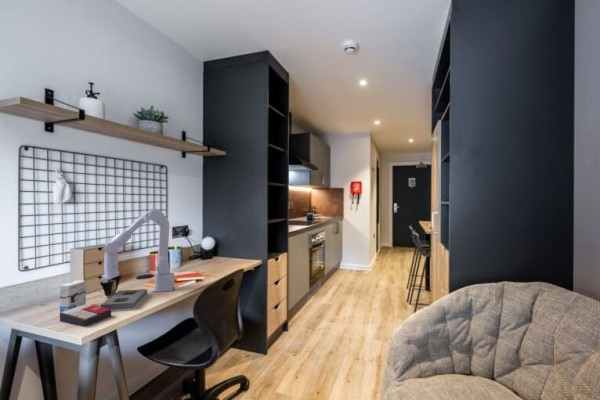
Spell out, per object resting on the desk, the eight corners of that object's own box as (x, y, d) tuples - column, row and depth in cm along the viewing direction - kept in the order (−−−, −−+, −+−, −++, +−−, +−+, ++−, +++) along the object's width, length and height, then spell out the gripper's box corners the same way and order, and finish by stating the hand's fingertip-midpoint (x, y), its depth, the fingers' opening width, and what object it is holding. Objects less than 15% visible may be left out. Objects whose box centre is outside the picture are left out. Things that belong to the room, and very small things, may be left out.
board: (147, 295, 152) (147, 289, 151) (133, 309, 132) (133, 302, 132) (119, 296, 149) (118, 290, 149) (100, 311, 129) (100, 304, 129)
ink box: (68, 313, 128) (68, 285, 128) (59, 312, 129) (59, 285, 129) (86, 306, 136) (86, 280, 136) (77, 305, 137) (77, 279, 137)
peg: (117, 295, 151) (117, 279, 150) (114, 298, 147) (114, 282, 147) (108, 296, 150) (108, 280, 150) (105, 298, 146) (105, 282, 146)
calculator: (84, 318, 114) (59, 311, 119) (84, 329, 114) (59, 321, 119) (111, 308, 124) (87, 302, 129) (111, 318, 124) (87, 311, 130)
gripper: (108, 263, 154) (108, 289, 154) (95, 269, 140) (95, 298, 140) (123, 262, 156) (123, 288, 156) (111, 269, 142) (111, 297, 142)
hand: (111, 293), depth 148 cm, fingers open, 7 cm apart
